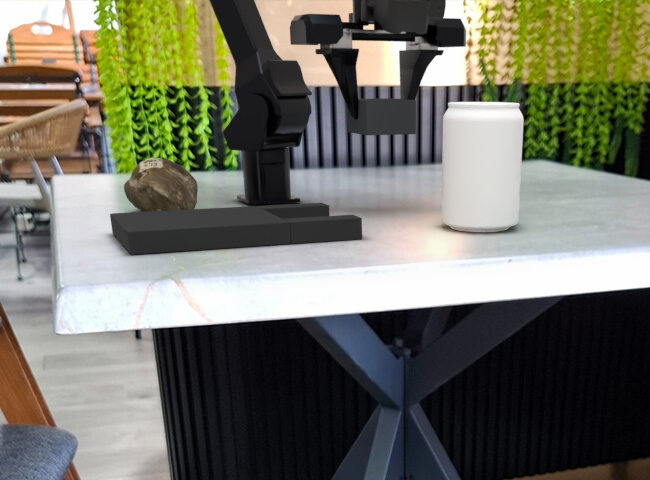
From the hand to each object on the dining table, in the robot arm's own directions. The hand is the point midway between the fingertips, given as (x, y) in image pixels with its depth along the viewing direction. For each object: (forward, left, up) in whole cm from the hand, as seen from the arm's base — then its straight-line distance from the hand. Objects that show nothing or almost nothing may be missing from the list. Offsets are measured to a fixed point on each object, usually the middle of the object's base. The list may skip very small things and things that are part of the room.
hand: (380, 118), depth 101 cm
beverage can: (+16, +5, -10) cm, 19 cm away
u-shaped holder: (+12, -20, -10) cm, 25 cm away
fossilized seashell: (-6, -24, -10) cm, 27 cm away
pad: (0, 0, -2) cm, 2 cm away
